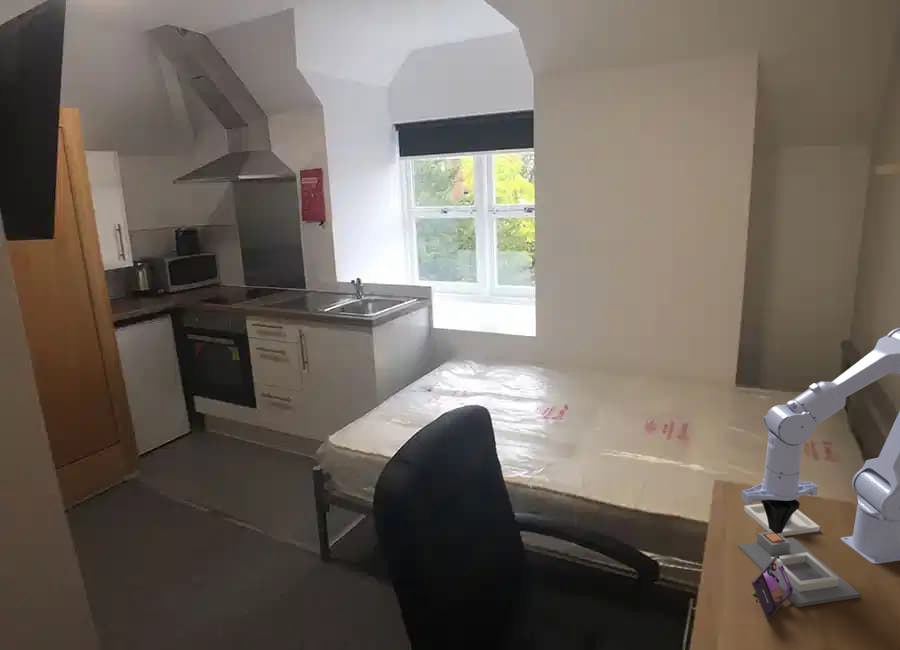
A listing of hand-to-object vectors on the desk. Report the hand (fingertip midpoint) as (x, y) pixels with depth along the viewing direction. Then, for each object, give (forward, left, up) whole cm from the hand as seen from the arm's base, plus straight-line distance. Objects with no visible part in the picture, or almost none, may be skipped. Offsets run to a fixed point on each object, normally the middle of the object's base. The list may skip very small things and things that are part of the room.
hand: (775, 530), depth 113 cm
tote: (-8, -8, -5) cm, 12 cm away
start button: (0, 0, -3) cm, 3 cm away
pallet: (0, +6, -5) cm, 8 cm away
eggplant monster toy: (+10, +12, -5) cm, 16 cm away
